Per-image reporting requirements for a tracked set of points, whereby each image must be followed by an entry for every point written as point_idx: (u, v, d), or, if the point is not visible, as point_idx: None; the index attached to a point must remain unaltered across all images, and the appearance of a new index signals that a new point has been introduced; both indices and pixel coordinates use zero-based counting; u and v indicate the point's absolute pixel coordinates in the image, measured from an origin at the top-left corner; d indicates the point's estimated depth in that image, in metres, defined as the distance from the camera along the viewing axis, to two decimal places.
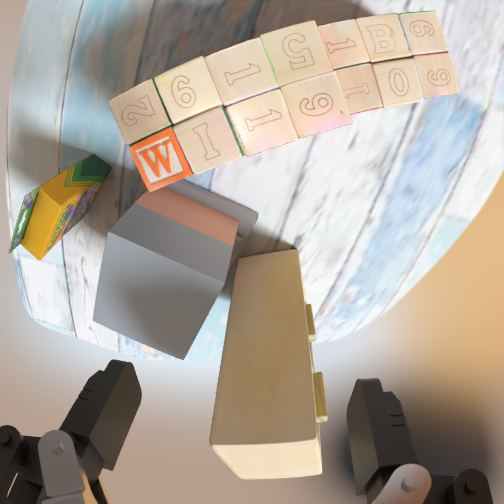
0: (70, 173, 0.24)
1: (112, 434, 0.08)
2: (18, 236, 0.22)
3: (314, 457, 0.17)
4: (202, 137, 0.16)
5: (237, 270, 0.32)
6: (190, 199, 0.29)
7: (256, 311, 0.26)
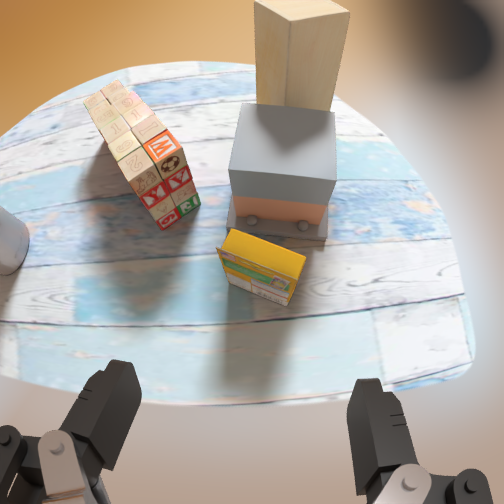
0: None
1: (112, 433, 0.08)
2: (277, 274, 0.26)
3: None
4: (146, 130, 0.29)
5: None
6: None
7: (273, 96, 0.34)
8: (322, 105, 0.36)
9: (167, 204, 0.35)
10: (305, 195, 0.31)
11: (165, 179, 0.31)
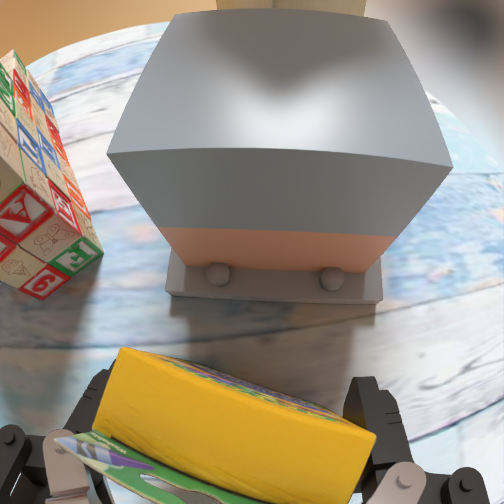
0: None
1: None
2: None
3: None
4: None
5: None
6: None
7: None
8: None
9: (23, 262, 0.14)
10: (350, 214, 0.11)
11: None
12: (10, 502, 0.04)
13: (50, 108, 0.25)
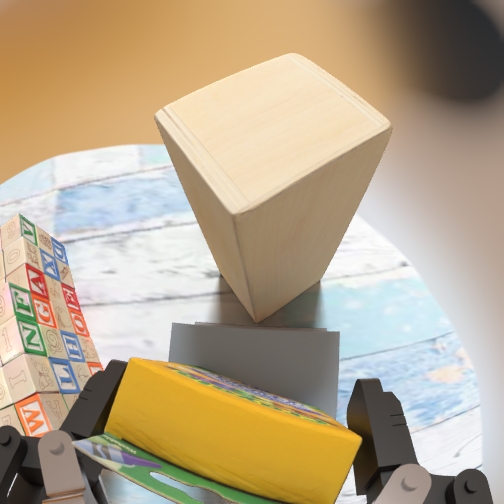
0: None
1: None
2: None
3: (221, 83, 0.12)
4: (15, 382, 0.16)
5: (254, 318, 0.27)
6: None
7: (232, 276, 0.22)
8: (318, 265, 0.24)
9: None
10: None
11: None
12: (7, 503, 0.04)
13: (63, 253, 0.32)
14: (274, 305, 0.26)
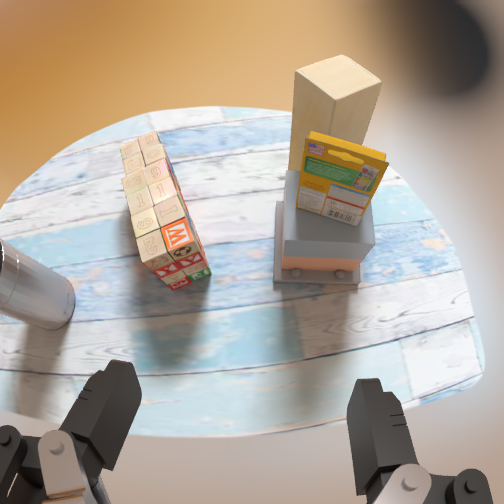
0: None
1: (112, 434, 0.08)
2: (366, 163, 0.24)
3: (318, 63, 0.30)
4: (166, 213, 0.34)
5: None
6: (282, 241, 0.44)
7: None
8: None
9: (178, 275, 0.40)
10: (347, 253, 0.36)
11: (177, 261, 0.36)
12: (7, 503, 0.04)
13: (172, 168, 0.51)
14: None
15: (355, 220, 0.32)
